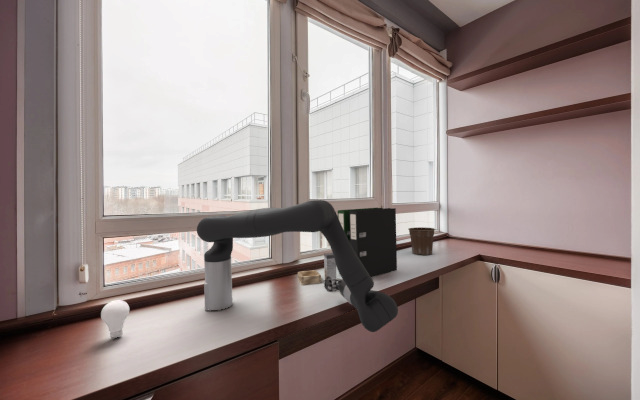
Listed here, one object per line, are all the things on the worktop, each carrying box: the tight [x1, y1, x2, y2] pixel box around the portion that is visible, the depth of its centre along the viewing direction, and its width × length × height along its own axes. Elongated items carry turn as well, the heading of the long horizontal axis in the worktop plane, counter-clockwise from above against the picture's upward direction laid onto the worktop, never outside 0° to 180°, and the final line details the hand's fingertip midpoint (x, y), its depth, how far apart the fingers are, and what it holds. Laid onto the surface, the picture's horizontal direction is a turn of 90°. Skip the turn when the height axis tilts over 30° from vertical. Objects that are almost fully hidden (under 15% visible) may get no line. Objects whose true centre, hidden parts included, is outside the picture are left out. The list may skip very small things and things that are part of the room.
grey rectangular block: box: [323, 252, 338, 292], centre depth 116 cm, size 4×4×15 cm
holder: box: [297, 269, 322, 286], centre depth 128 cm, size 9×9×4 cm
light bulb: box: [100, 299, 130, 339], centre depth 80 cm, size 7×7×11 cm
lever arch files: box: [337, 207, 398, 278], centre depth 139 cm, size 27×15×32 cm, turn 124°
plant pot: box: [408, 226, 436, 256], centre depth 179 cm, size 16×16×16 cm
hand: (338, 277), depth 106 cm, fingers open, 8 cm apart
